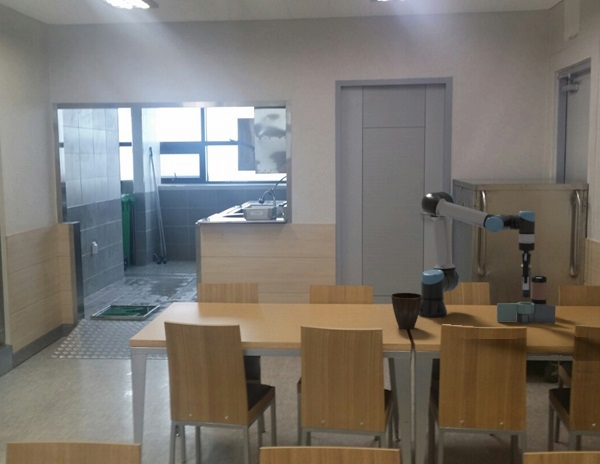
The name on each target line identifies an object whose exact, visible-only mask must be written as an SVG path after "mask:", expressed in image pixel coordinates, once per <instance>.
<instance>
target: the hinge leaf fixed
mask: <svg viewBox="0 0 600 464" xmlns="http://www.w3.org/2000/svg"><path fill="white" fill-rule="evenodd" d="M556 307H557V306H556V304H546V305H544V304H535V313H533V314H520V313H517V315H516V323H519V324H525V325H526V324H527V325H530V324H548V325H555V324H556Z"/></svg>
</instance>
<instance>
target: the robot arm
mask: <svg viewBox="0 0 600 464" xmlns="http://www.w3.org/2000/svg"><path fill="white" fill-rule="evenodd" d="M420 203H421V204H420V205H421V209H422V211H423V212H424V213H426V214H427V215H430V219H431V220H433V231H434V232H433V233H434V235H433V236H434V248H435V251H434V252H435V265H434V266H433V269H428V270H424V271H423V272H422V273H421V278H420V283H421V285H420V287H421V288H420V289H421V290H420V291H421V294H420V295H422V301H421V306H420V311H419V315H418V317H422V318H423V317H424V318H432V319H434V318H435V319H436V318H437V319H438V318H444V317H447V316H448V309H447V307H446V303H445V300H444V299H445V295H444V293H447V292H450V291H451V292H452V291H453V290H455V289H456V288H458V286H459V284H460V281H461V278H460V274H459V272H458V271H457V270H456V265H455V264H454V263H453V253H452V238H451V237H452V235H451V222H450V221H451V220H450V219H452V220H456V221H459V222H463V223H466V224H469V225H473V226H476V227H479V228H482V229H485V230H487V231H488V232H490V233H499V232H502V231H509V230H510V231H518V242H519V243H518V250H519V251H521V252H523V253H521V258H522V265H523V275H522V274H521V278H522V277H523V290H529V277H528V276H529V275H528V272H529V265H531V258H532V254H531V253H530V252H532V251H535V247H536V245H535V243H534V242H535V238H537V236H536V234H535V233H536V232H535V231H536V215H535V214H536V213H535V212H534V211H532V210H524V211H523V210H521V211H519V212H518V214H502V213H501V214H496V215H494V214H491V213H488V212H484V211H480V210H477V209H473V208H471V207H466V206H463V205H459V204H456V201H455V198H454V196H453V195H452V194H451V193H450V192H446V191H437V192H435V191H434V192H428V193H426V194H424V196H423V197H422V199H421V202H420Z"/></svg>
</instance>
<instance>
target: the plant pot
mask: <svg viewBox="0 0 600 464" xmlns="http://www.w3.org/2000/svg"><path fill="white" fill-rule="evenodd" d="M390 296H391V303H392V309H393V313H394V314H393V315H394V317H395V318H394V319H395V320H396V323H397V327H398V328H399V329H402V330H412V329H414V328H415V327H416V323H417V320H418V317H419V311H420V306H421V301H422V295H421V294H420V293H416V292H415V293H414V292H396V293H391V295H390Z"/></svg>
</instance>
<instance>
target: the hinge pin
mask: <svg viewBox="0 0 600 464" xmlns="http://www.w3.org/2000/svg"><path fill="white" fill-rule="evenodd" d="M520 267H521V297H522V298H526V299H527V298H531V277H532V276H531V275H532V273H531V272H532V271H531V269H532V268H533V265H532V264H530V265H529V272H528V275H529V276H528V277H529V290H523V277H522V275H523V264H520Z"/></svg>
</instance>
